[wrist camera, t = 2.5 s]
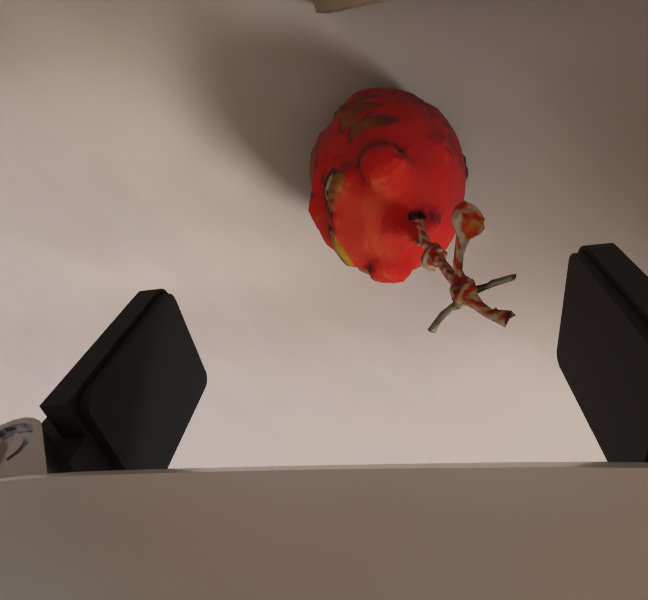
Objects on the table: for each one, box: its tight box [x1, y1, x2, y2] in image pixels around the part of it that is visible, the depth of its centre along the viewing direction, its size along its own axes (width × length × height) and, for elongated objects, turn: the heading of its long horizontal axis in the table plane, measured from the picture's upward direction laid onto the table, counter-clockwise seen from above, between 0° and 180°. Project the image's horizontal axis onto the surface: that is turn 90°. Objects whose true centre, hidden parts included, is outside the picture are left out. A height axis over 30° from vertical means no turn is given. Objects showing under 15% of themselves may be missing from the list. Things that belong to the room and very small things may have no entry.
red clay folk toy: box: [309, 88, 516, 333], centre depth 16 cm, size 8×7×15 cm
